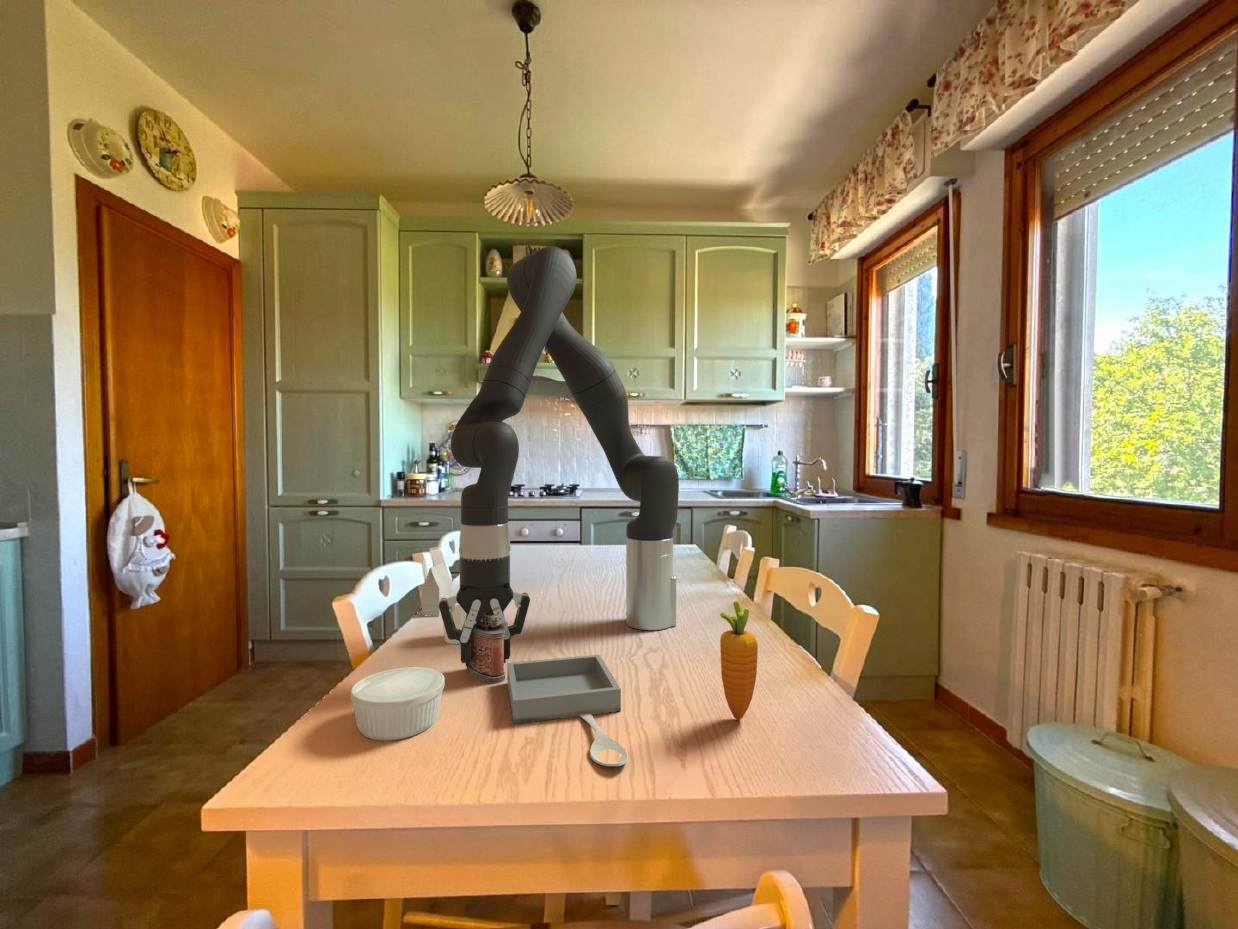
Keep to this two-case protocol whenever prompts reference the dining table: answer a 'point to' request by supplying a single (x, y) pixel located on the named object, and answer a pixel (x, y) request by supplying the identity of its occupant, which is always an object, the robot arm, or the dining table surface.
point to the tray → (561, 688)
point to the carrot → (738, 662)
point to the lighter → (487, 650)
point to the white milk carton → (435, 589)
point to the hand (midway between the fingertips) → (485, 662)
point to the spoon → (603, 743)
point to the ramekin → (397, 702)
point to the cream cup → (456, 622)
